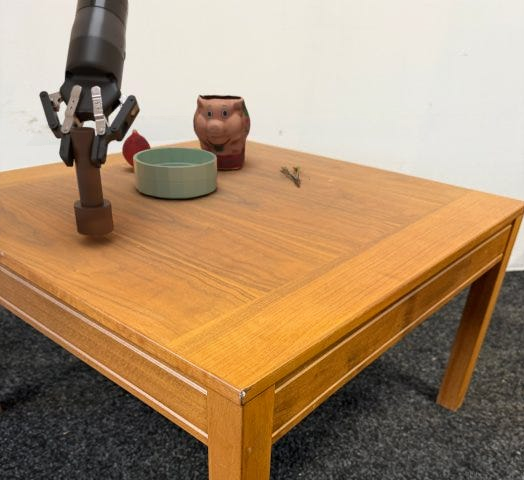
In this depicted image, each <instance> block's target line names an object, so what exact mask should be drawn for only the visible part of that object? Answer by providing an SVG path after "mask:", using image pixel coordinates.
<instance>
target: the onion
mask: <svg viewBox="0 0 524 480" xmlns="http://www.w3.org/2000/svg"><path fill="white" fill-rule="evenodd" d="M131 131H132V132H131V134H130V135H129V136H128V137H127V138H126V139H125V140H124V141H123V144H122V147H121V150H122V151H121V152H122V156H123V158H124V160H125V161H126V162H127V164H129V165H130V166H131V167H133V168H134V162H133V157H134V155H135V154H136V153H138V152H141V151H144V150H148V149H152V148H151V145H150V143H149V141H148V140H147V139H146V138H145V136H143V135H141V134H140V133H139V132H138V130H137V129H135V128H133V129H132V130H131Z"/></svg>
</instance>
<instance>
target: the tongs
mask: <svg viewBox="0 0 524 480" xmlns="http://www.w3.org/2000/svg"><path fill="white" fill-rule="evenodd" d="M287 167H288V166H287V165H286V166H280V169H282V171H283V172H284V174H286V176H289V177H290V178H291V179H292V180H293V181H294V182H295V183H296V184H297V187H298V188H299V189H300V188H301V180H300V169H301V166H292V169H293V170H294V171H295V172H296V176H295V175H294V174H293V173H291V171H290V170H289V169H288V168H287Z"/></svg>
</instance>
